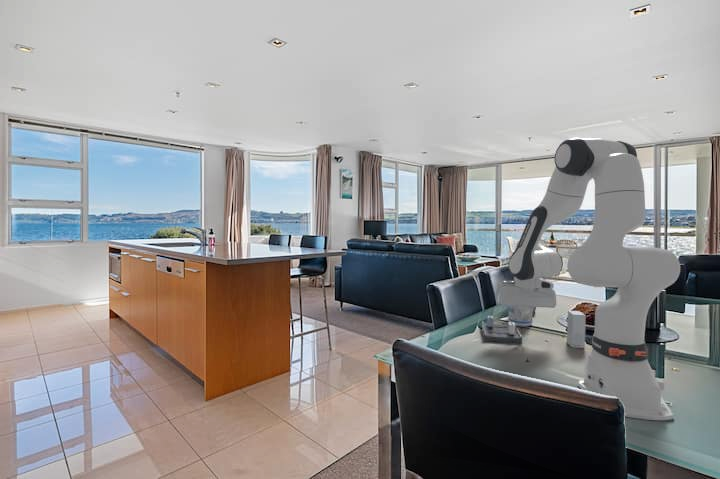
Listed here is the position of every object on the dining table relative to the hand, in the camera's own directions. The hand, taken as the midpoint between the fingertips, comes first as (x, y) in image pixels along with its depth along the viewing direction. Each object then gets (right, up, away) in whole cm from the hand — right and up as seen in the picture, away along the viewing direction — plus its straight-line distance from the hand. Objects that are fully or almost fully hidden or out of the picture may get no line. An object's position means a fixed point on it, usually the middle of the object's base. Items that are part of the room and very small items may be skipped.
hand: (525, 317), depth 143 cm
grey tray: (-7, -8, +6) cm, 12 cm away
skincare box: (+15, -9, -6) cm, 19 cm away
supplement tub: (+7, -7, +21) cm, 23 cm away
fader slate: (-10, -5, +10) cm, 15 cm away
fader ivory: (-5, -6, +1) cm, 8 cm away
